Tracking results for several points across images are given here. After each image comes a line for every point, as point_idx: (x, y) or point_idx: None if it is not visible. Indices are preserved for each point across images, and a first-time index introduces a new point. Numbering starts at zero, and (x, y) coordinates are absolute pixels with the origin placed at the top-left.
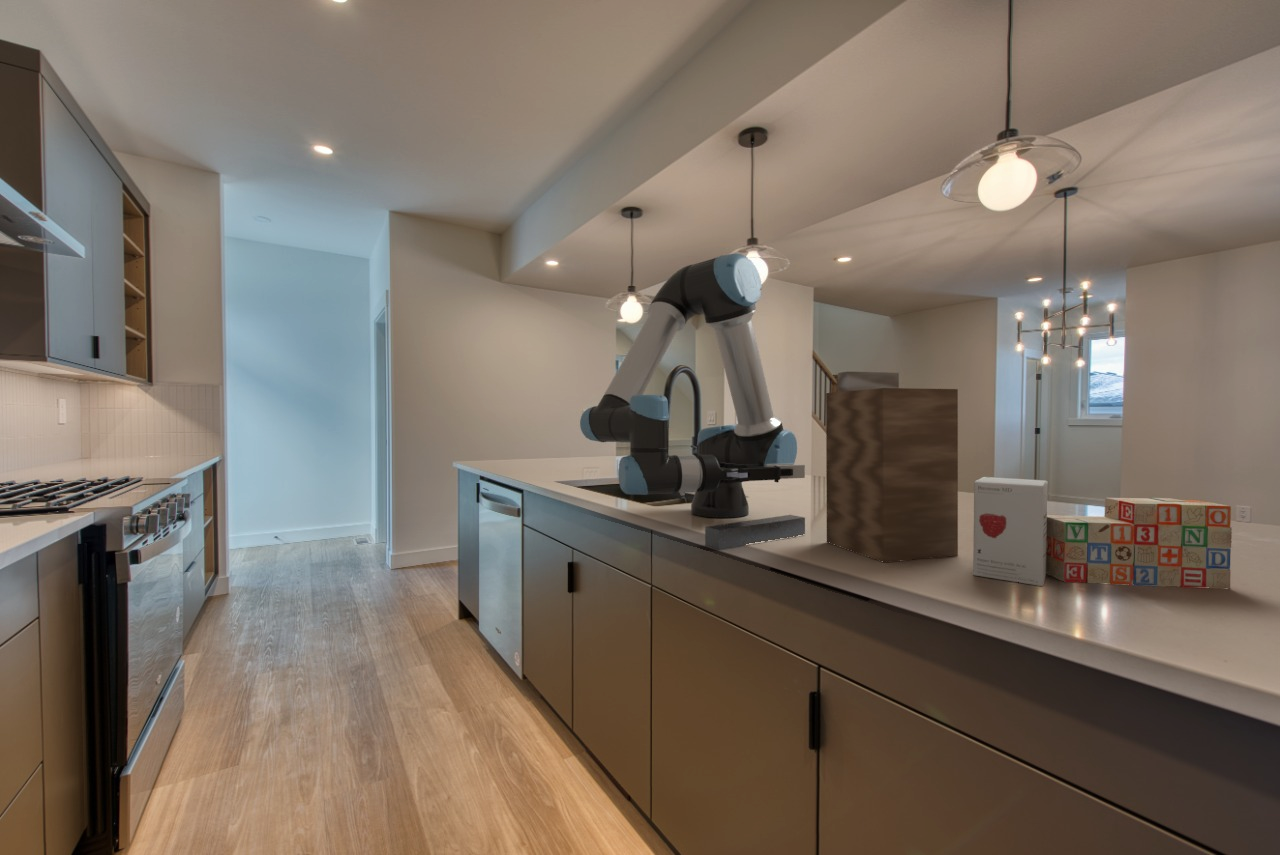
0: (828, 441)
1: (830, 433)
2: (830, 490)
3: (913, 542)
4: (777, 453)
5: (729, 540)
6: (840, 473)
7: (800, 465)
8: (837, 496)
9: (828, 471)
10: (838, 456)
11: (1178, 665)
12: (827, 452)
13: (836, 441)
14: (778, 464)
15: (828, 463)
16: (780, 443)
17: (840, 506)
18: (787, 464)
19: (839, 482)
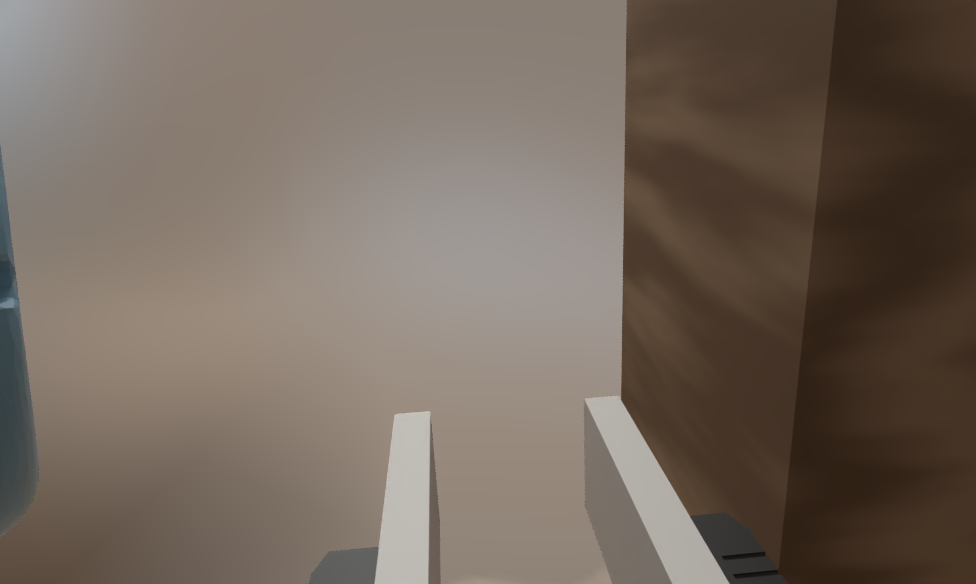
0: (851, 133)
1: (893, 55)
2: (831, 505)
3: None
4: (22, 347)
5: None
6: (964, 370)
7: (633, 421)
8: (905, 526)
9: (821, 380)
10: (966, 247)
11: None
12: (828, 232)
13: (965, 123)
14: (427, 526)
15: (832, 320)
16: (7, 232)
17: (929, 578)
18: (428, 456)
19: (942, 434)
